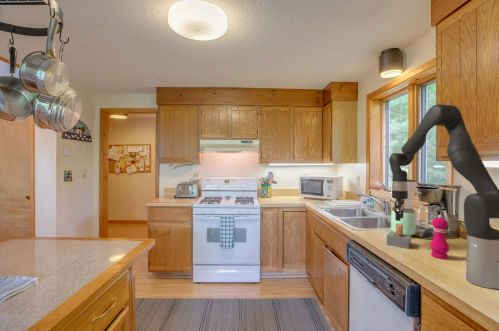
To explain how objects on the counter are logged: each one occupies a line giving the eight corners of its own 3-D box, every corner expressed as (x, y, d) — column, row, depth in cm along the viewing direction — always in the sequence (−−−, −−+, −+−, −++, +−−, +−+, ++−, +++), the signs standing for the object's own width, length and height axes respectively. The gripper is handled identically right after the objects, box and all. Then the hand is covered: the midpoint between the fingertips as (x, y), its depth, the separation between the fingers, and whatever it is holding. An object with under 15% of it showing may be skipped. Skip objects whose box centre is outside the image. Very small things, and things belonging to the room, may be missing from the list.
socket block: (411, 244, 137) (411, 235, 137) (408, 248, 129) (408, 239, 129) (390, 240, 143) (390, 231, 143) (386, 244, 136) (386, 235, 136)
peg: (403, 242, 136) (403, 224, 136) (401, 244, 134) (402, 225, 134) (395, 241, 139) (396, 223, 138) (394, 242, 136) (395, 224, 136)
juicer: (399, 230, 165) (400, 177, 164) (421, 235, 153) (422, 179, 152) (382, 234, 155) (382, 178, 155) (404, 240, 144) (405, 179, 143)
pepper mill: (434, 258, 116) (435, 215, 116) (427, 253, 123) (427, 212, 123) (452, 260, 114) (453, 216, 114) (444, 254, 121) (444, 213, 121)
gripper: (405, 191, 128) (405, 222, 128) (409, 189, 139) (409, 218, 139) (389, 190, 133) (388, 220, 133) (394, 188, 144) (394, 216, 144)
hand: (399, 219), depth 136 cm, fingers open, 8 cm apart
